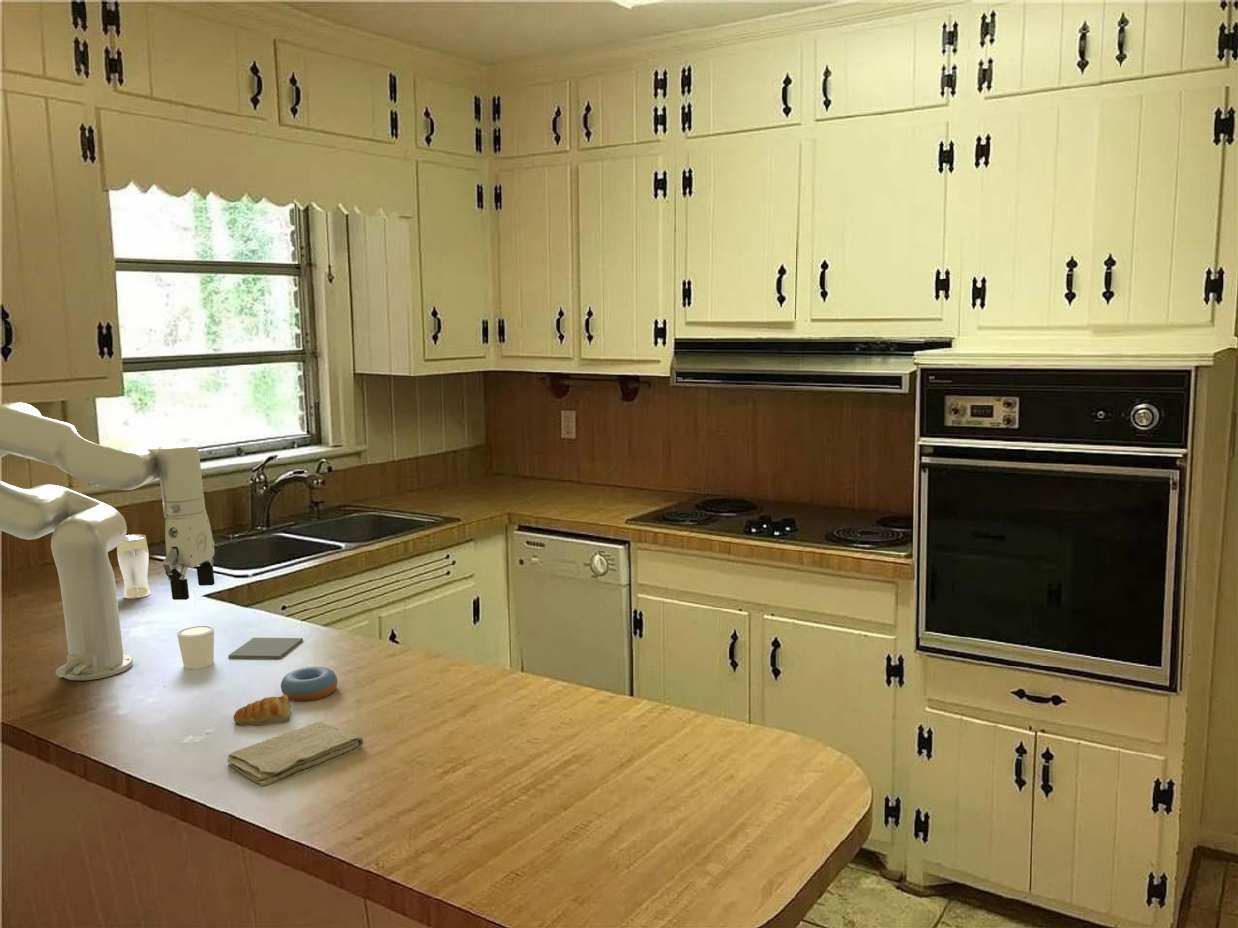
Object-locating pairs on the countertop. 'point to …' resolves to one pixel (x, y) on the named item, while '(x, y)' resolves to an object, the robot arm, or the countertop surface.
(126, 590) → the beer glass
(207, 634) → the white cup
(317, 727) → the washcloth
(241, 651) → the mat
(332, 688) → the doughnut
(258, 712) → the pastry
